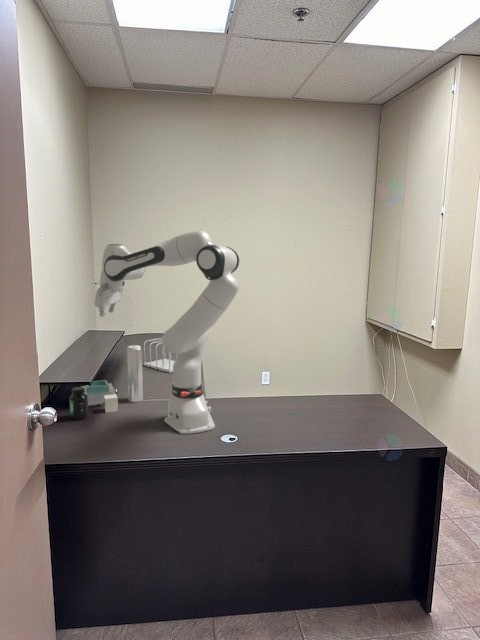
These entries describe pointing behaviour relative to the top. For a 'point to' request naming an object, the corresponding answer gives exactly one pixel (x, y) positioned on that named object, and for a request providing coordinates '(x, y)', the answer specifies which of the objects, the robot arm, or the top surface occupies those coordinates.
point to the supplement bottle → (78, 404)
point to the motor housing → (98, 391)
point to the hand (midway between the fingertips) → (106, 314)
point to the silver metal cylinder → (135, 373)
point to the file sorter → (159, 364)
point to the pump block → (110, 403)
